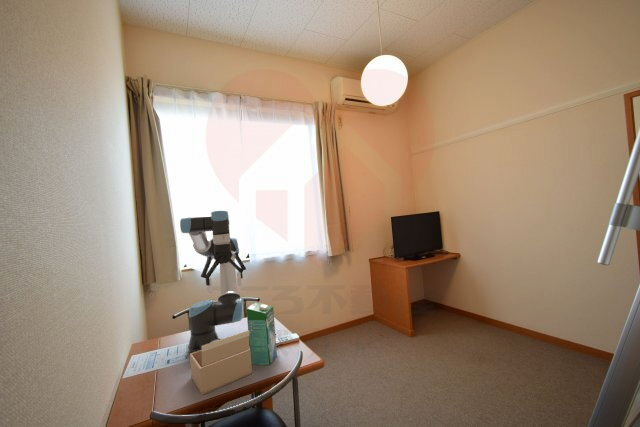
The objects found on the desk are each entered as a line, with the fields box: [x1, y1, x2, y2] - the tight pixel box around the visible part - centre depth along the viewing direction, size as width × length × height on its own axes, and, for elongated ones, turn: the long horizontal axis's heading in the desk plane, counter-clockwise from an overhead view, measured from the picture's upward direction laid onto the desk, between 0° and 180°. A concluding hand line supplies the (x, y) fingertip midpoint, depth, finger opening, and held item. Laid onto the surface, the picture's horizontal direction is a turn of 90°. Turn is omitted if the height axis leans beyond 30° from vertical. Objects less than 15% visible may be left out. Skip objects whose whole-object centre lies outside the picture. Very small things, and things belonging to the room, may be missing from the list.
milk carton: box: [246, 301, 278, 366], centre depth 129 cm, size 9×9×25 cm
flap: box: [202, 329, 250, 366], centre depth 111 cm, size 9×19×1 cm
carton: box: [189, 348, 253, 396], centre depth 118 cm, size 16×20×10 cm
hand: (225, 289), depth 132 cm, fingers open, 13 cm apart
